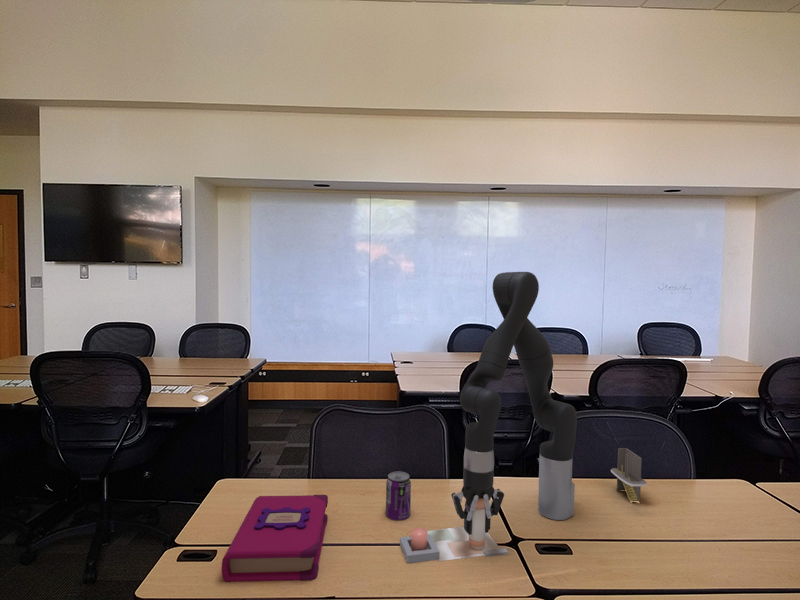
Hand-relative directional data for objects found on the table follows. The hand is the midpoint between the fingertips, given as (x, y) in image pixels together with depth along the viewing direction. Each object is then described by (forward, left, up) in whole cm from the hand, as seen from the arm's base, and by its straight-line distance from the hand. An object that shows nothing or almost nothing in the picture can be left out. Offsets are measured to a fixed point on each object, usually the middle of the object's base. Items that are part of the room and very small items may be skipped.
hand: (476, 531), depth 116 cm
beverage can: (+16, -20, -5) cm, 26 cm away
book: (+48, -12, -5) cm, 50 cm away
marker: (0, 0, -3) cm, 3 cm away
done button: (+15, -1, -3) cm, 15 cm away
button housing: (+15, -1, -5) cm, 16 cm away
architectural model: (-59, -17, -5) cm, 62 cm away
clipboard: (+3, -3, -5) cm, 6 cm away
